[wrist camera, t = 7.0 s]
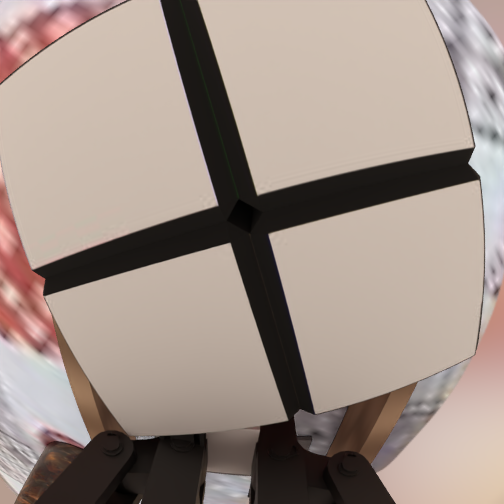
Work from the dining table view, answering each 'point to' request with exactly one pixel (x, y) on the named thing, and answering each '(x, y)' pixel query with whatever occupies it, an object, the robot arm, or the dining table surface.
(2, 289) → the dining table surface
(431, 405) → the dining table surface
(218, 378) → the puzzle cube
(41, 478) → the jar
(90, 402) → the channel
